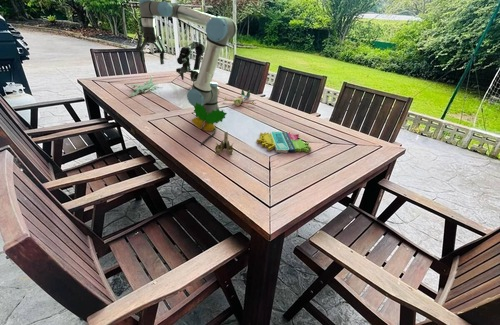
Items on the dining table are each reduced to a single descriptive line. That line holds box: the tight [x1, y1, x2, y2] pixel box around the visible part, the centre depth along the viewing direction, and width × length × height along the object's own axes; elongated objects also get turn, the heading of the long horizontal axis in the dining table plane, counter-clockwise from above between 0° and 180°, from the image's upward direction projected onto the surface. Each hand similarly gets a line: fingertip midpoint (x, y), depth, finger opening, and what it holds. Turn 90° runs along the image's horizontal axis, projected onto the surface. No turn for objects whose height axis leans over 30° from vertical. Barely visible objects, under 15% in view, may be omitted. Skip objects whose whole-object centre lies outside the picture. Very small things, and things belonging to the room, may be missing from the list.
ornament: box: [191, 102, 228, 132], centre depth 162 cm, size 21×8×15 cm, turn 105°
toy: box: [223, 89, 257, 106], centre depth 219 cm, size 28×7×30 cm
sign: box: [256, 131, 312, 154], centre depth 152 cm, size 26×2×30 cm
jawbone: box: [214, 131, 234, 156], centre depth 136 cm, size 9×15×10 cm
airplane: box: [127, 74, 164, 98], centre depth 226 cm, size 38×31×10 cm
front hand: (152, 63), depth 169 cm, fingers open, 13 cm apart
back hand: (187, 80), depth 238 cm, fingers open, 9 cm apart
